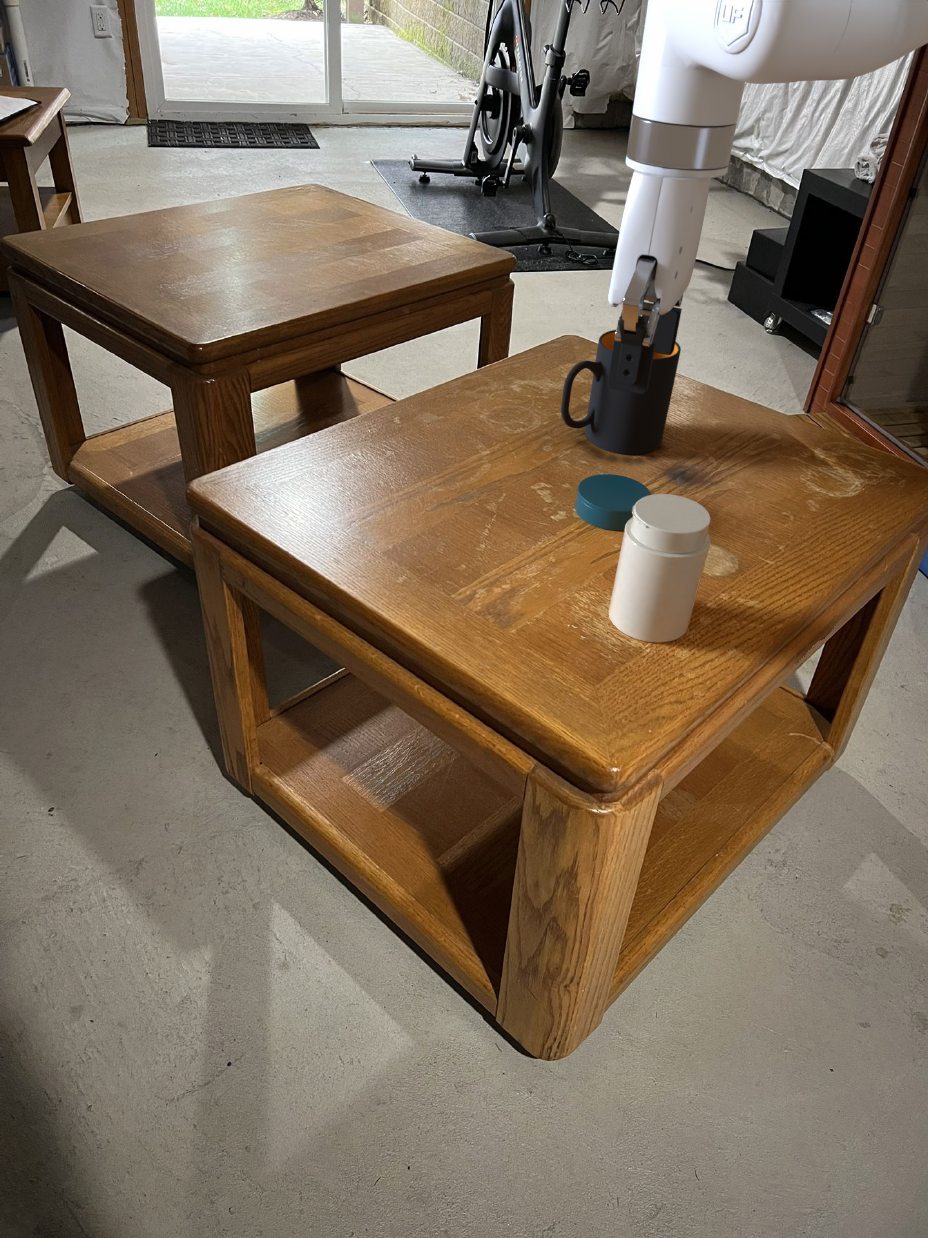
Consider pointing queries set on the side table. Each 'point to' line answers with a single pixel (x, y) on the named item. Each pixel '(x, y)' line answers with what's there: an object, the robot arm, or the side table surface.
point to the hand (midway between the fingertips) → (641, 369)
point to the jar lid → (608, 500)
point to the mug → (624, 403)
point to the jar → (660, 568)
